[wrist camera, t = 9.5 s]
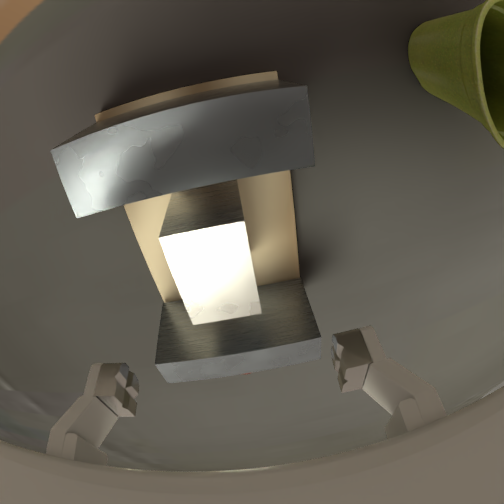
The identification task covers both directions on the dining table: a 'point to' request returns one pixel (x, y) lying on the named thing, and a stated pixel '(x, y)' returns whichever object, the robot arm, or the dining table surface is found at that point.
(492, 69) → the plant pot
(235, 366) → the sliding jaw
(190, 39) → the dining table surface
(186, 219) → the block
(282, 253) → the vise board
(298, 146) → the fixed jaw
